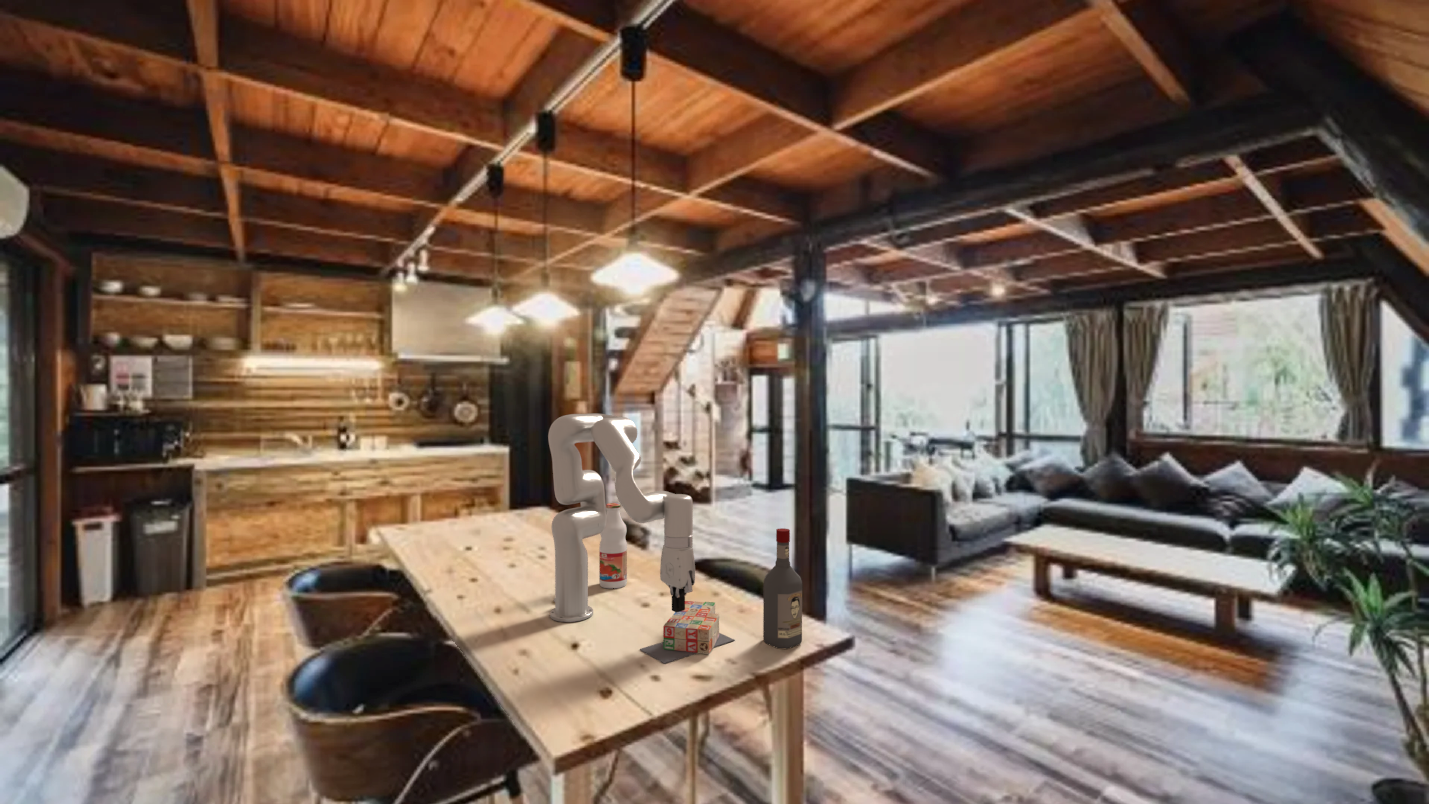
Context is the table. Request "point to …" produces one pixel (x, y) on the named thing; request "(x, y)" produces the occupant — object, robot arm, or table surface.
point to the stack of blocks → (692, 628)
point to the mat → (670, 655)
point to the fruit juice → (613, 550)
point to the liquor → (782, 599)
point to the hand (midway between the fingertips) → (678, 610)
